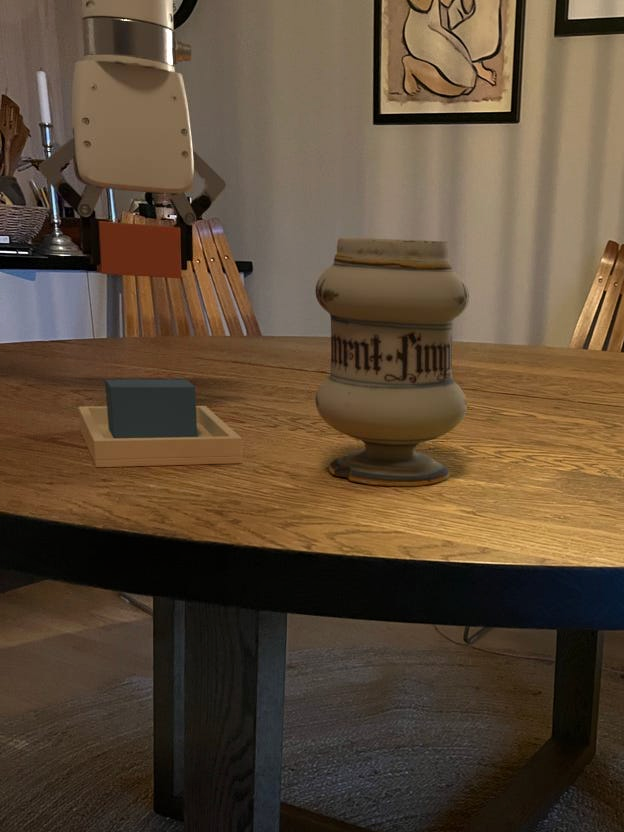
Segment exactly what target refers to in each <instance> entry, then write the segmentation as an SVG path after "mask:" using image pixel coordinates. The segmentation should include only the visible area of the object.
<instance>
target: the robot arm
mask: <svg viewBox="0 0 624 832" xmlns="http://www.w3.org/2000/svg"><path fill="white" fill-rule="evenodd" d="M173 2H174V1H173V0H80V6H81V21H82V22H81V24H82V25H81V26H82V41H83V55H84V57H83V58H84V60H78V61H76V62H75V63H74V70H73V76H72V78H73V79H72V89H71V138H70V139H69V140H67V142H65V143H64V144H63V145H61V146H60V147H59V148H57V150H55V151H54V152H53V153H52V154H50V155H49V156H48V157H47V158H45V159H44V160H43V161H41V162H40V163H39V165H38V170H39V172H40V174H41V176H43V177H44V179H45V180H46V181H47V183H49V184H50V185H51V187H52V188H53V189H54V190H55V192H56V193H57V194H58V195H59V197H60V198H62V199H63V200H64V201H65V203H67V204H68V205H69V207H70V208H71V209H72V210H73V211H74V212H75V213H76V214H77V216H79V223H80V237H81V238H80V239H81V240H80V241H81V252H82V253H81V254H82V255H84V256H89V264H91V265H92V266H97V265H99V264H101V259H100V241H99V223H98V222H99V221H100V220H99V219H97V217H96V210H95V208H96V206H97V204H98V201H99V200H100V197H101V195H102V194H103V193H102V192H103V191H104V189H105V190H106V189H108V190H118V191H129V192H139V193H151V194H165V196H166V197H167V200H168V202H169V203H170V206H171V208H172V209H173V211H174V213H175V215H176V217H175V223H174V224H173V225H172V227H178V228H180V244H181V271H188V262H193V261H194V239H193V236H194V235H193V226H194V225H195V224H196V222H197V220H199V219H200V217H201V216H202V215H204V213H206V211H208V210H209V209H210V207H211V206H212V204H214V202H215V201H216V200H217V198H218V197H219V196H220V195H221V194H222V193H223V191H224V190H225V189H226V187H227V184H226V181H225V180H224V179H223V178H222V177H221V176H220V175H219V174H218V173H217V172H216V171H215V170H214V169H213V168H212V167H211V166H210V165H209V164H208V163H207V162H206V161H205V160H203V158H202V157H201V156H199V155H198V154H197V152H195V151H194V149H193V139H192V129H191V119H190V111H189V104H188V98H187V93H186V88H185V83H184V78H183V74H182V73H180V72H176V69H175V67H176V66H177V64H178V63H182V62H183V61H184V62H189V63H190V62H191V60H192V46H191V44H187V43H182V41H179V40H178V37H176V32H175V31H174V5H173ZM70 161H72V164H73V165H72V166H73V171H74V176H75V177H76V179H77V180H78V181H79V182H80V183H82V184H83V185H84V188H83V191H82V192H81V193H80V194H79V192H78V191H77V190H75V188H74V187H73V186H72V185H70V183H69V182H68V181H67V180H66V179H65V177H64V176H63V175H62V172H61V170H62V168H63V167H64V166H66V165H67V164H68V163H69V162H70ZM195 174H196V175H197V176H198V177H199V179H200V180H201V181H202V182H203V183H204V187H203V189H202V190H201V192H200V193H199V195H197V196H196V197H195V198H194V199H193V200H192V201H191V202H189V200H188V197H187V196H186V195H187V194H186V192H189V191H190V190H191V189H192V188H193V186H194V180H195Z"/></svg>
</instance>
